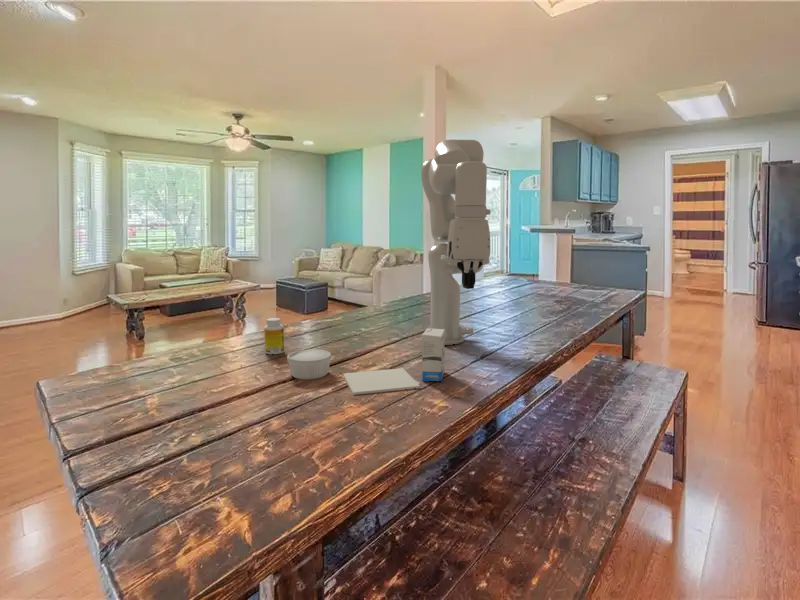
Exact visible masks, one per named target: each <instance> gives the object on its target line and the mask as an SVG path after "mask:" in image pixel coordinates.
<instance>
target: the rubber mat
mask: <svg viewBox="0 0 800 600" xmlns="http://www.w3.org/2000/svg"><path fill="white" fill-rule="evenodd" d="M342 376H343V378H344V380H345V382H346V384H347V386H348V387H349V389H350V391H351V393H352V395H353V396H355V395H365V394H375V393H377V394H378V393H385V392H395V391H404V390H405V389H407V390H414V388H416V389H420V388H421V386H420V384H419V383H418V382H417V381H416V380H415V379H414V378H413V377H412V376H411V375H410V374H409V373H408V371H406V370H405V368H403V367H402V368H392V369H390V368H389V369H380V370H369V371H368V370H367V371H359V372H358V371H357V372H344V373H342ZM405 391H406V390H405Z"/></svg>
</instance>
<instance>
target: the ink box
mask: <svg viewBox="0 0 800 600" xmlns="http://www.w3.org/2000/svg"><path fill="white" fill-rule="evenodd" d="M445 346H446V345H445V329H432V328H430V327H429V328H428V327H427V328H426V329H425V330H424V332H423V333H422V335H421V347H422V348H421V362H422V363H421V364H422V365H421V368H422V369H421V373H422V378H421V379H422V380H421V381H422V382H429V381H437V382H436V383H439V382H438V381H441V380H443V377H444V375H443V374H445ZM441 382H442V381H441Z"/></svg>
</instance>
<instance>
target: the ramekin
mask: <svg viewBox="0 0 800 600" xmlns="http://www.w3.org/2000/svg"><path fill="white" fill-rule="evenodd" d="M331 358H332V353H331V352H329V351H327V350H324V349H317V348H316V349H314V348H312V349H301V350H296V351H293V352H291V353H289V354H288V355H287V357H286V361H287V362H288V367H289V372H290V375H291V376H292V377H294V379H299V380H315V379H320V378H323V377H325V376H326V375H327V374H328V373H329V370H330V365H331Z"/></svg>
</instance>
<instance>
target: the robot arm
mask: <svg viewBox="0 0 800 600" xmlns="http://www.w3.org/2000/svg"><path fill="white" fill-rule="evenodd" d="M483 161H484V149H483V146H482V144H481V143H480V142H479V141H478V140H475V139H445V140H442V141H441V142H439V143H438V144H437V145H436V148H435V150H434V158H431V159H428V160H426V161H424V162H423V163H422V166H421V171H420V172H421V174H420V175H421V177H420V178H421V183H422V187H423V191H424V193H425V196H426V198H427V202H428V204H429V205H428V206H429V218H430V230H431V233H430V234H431V236H432V239H433V240H434V241H436V242H437V243H438V242H439V243H438V244H434V245H433V246H432V247H430V249H429V251H428V254H427V255H428V256H427V257H428V258H427V259H428V268H429V273H430V274H429V275H430V320H429V322H430V323H429V324H430V326H429V328H432V329H445V346H453V344H455V345H459V343H460V344H462V343H464V342H465V337H464V336H465V335H473V334H474V329H473V327H469V328H467V327H463V326H461V325H460V324H461V323H460V320H461V319H460V317H461V315H460V314H461V287H460V286H461V285H462V288H463V289H467V290H470V289H473V290H474V288H475V285H476V274H477V273H479V272H481V271H482V269H484V268H483V267H484V266H485V265H488V264H490V256H491V232H490V231H491V230H490V226H489V225H490V224H489V220H488V219H486V218H487V216H489V215H491V209H490V208H487V182H488V181H487V180H488V177H487V174H488V169H487V167H488V166H487V165H486V163H484V162H483ZM453 195H454V196H453ZM457 274H461V285H460V284H459V283H458V281H457V280H456V279H455V278H454V276H453V275H457Z"/></svg>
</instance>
